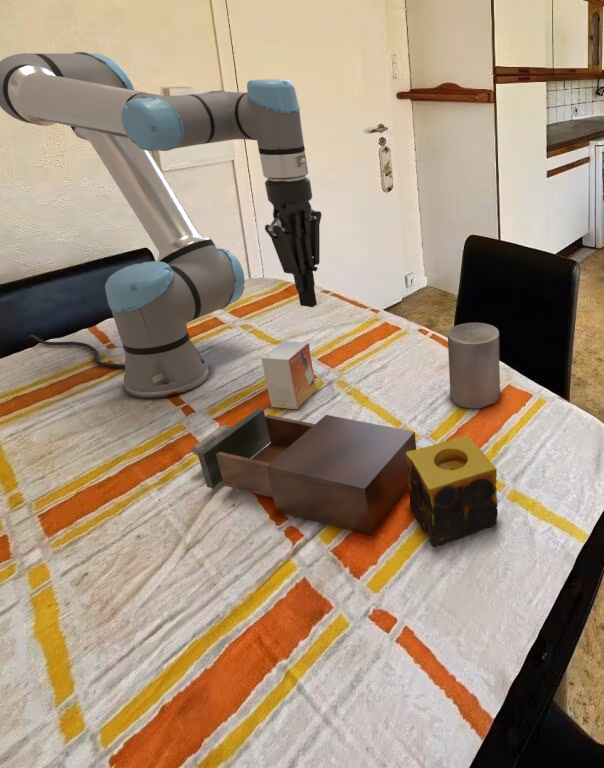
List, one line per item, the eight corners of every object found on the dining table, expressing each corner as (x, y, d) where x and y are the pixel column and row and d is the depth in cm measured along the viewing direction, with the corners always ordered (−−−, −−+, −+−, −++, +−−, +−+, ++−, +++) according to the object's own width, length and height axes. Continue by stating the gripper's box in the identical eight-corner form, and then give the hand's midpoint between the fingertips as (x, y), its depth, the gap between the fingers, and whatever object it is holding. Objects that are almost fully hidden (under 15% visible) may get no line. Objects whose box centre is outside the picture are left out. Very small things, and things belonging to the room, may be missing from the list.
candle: (432, 550, 84) (427, 491, 80) (407, 507, 92) (402, 451, 88) (499, 526, 89) (499, 469, 84) (470, 487, 96) (468, 433, 92)
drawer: (181, 480, 96) (170, 446, 93) (241, 435, 108) (233, 403, 105) (287, 507, 91) (279, 471, 88) (339, 456, 102) (333, 423, 99)
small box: (297, 410, 117) (288, 360, 112) (270, 407, 118) (259, 357, 113) (317, 390, 124) (309, 342, 119) (291, 387, 125) (282, 339, 120)
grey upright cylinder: (456, 383, 126) (452, 314, 119) (503, 386, 125) (503, 317, 118) (445, 407, 118) (441, 334, 111) (496, 411, 117) (495, 337, 110)
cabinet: (276, 512, 91) (266, 466, 87) (333, 457, 104) (326, 414, 100) (371, 536, 87) (364, 488, 83) (418, 475, 99) (415, 431, 95)
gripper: (279, 186, 102) (302, 319, 113) (327, 172, 113) (345, 296, 124) (243, 183, 104) (269, 314, 116) (293, 170, 115) (313, 291, 126)
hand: (308, 304), depth 120 cm, fingers closed
